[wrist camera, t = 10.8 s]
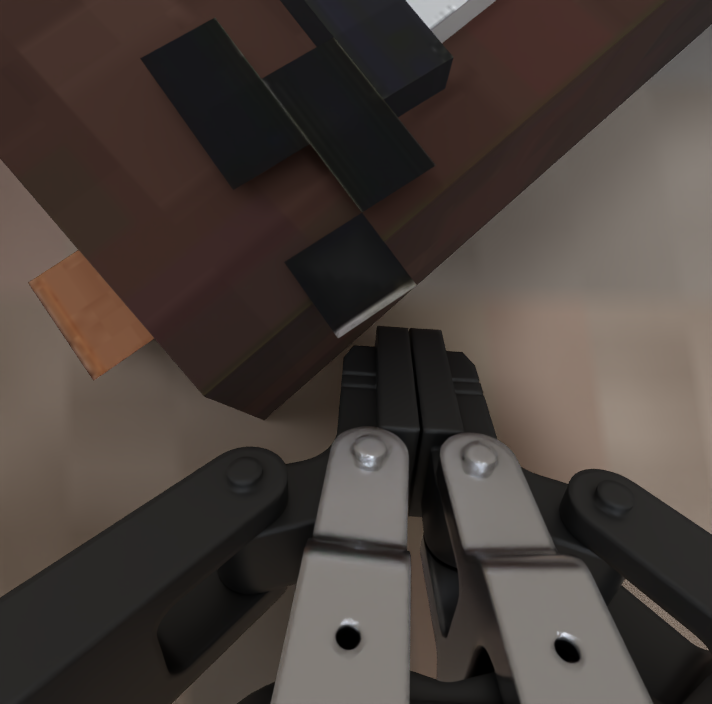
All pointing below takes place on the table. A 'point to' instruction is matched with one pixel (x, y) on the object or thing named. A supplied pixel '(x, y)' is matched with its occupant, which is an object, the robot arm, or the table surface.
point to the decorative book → (291, 158)
